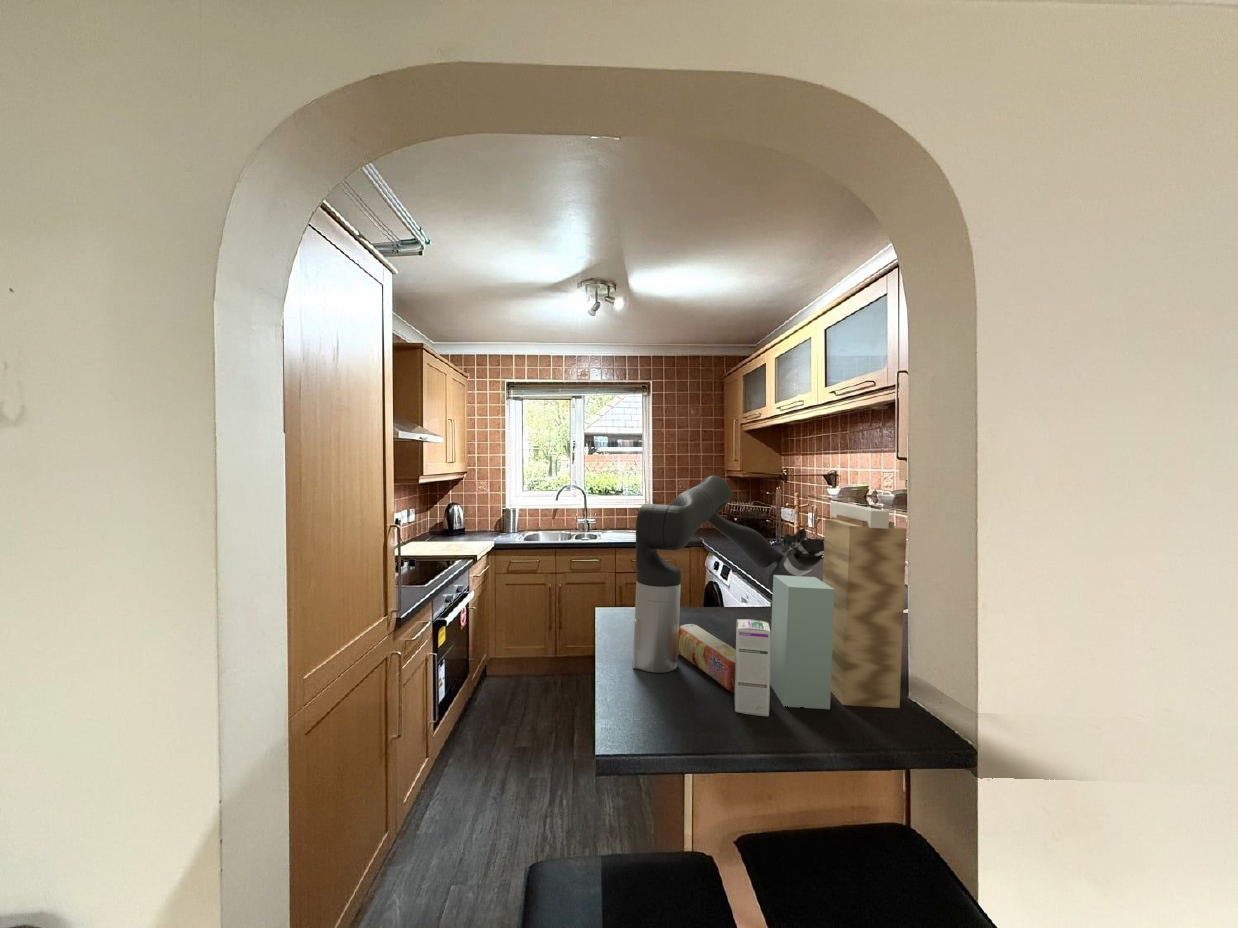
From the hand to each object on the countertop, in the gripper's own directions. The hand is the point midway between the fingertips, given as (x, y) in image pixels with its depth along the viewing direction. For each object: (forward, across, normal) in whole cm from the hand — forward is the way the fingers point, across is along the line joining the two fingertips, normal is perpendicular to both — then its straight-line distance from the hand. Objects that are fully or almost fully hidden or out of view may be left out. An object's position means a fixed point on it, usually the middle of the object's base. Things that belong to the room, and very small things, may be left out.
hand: (823, 532), depth 118 cm
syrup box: (+12, -22, +39) cm, 46 cm away
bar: (+17, 0, +4) cm, 17 cm away
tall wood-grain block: (+4, 0, +34) cm, 34 cm away
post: (+7, -12, +36) cm, 38 cm away
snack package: (-2, -26, +31) cm, 41 cm away
